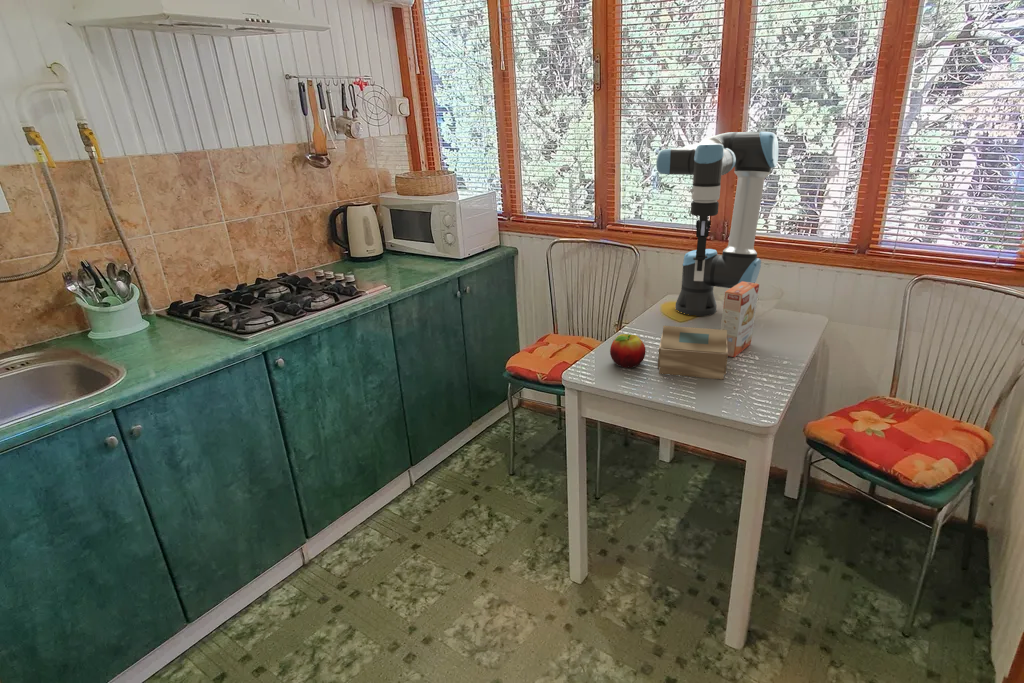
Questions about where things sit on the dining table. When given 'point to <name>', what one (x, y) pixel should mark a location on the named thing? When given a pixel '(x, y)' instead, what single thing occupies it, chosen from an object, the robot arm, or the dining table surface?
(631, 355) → the fruit
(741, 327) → the cracker box
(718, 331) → the flap
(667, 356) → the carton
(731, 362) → the dining table surface
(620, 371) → the dining table surface
